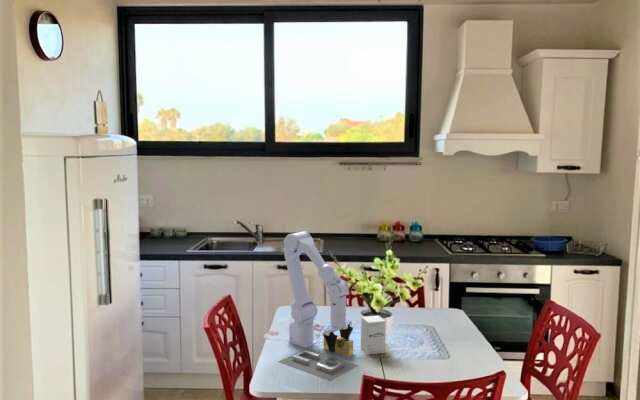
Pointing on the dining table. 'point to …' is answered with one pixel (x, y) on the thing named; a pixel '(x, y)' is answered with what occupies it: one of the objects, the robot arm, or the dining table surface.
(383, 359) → the dining table surface
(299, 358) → the pair of white brackets
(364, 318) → the supplement box
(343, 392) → the dining table surface
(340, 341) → the yellow gripped block
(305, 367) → the mat
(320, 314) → the dining table surface
